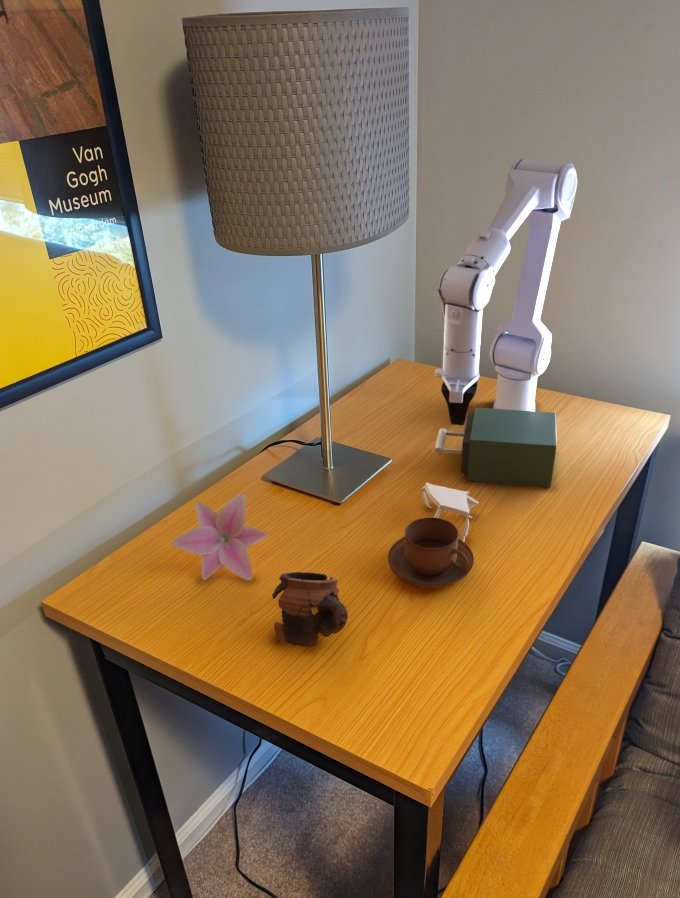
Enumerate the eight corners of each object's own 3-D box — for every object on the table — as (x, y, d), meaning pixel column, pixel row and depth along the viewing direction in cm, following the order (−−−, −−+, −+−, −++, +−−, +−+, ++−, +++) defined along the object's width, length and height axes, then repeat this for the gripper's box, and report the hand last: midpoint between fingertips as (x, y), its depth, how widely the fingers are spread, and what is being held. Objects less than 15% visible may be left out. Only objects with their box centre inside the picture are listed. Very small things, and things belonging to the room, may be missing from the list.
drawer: (432, 471, 125) (433, 440, 121) (439, 441, 133) (440, 411, 129) (536, 479, 122) (541, 447, 118) (537, 448, 130) (541, 418, 126)
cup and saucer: (482, 552, 108) (485, 517, 104) (459, 604, 99) (461, 567, 95) (404, 535, 111) (405, 501, 108) (375, 583, 102) (374, 548, 99)
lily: (169, 571, 107) (160, 544, 99) (209, 506, 112) (204, 475, 104) (243, 606, 106) (240, 581, 98) (280, 539, 111) (281, 510, 103)
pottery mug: (254, 636, 95) (258, 572, 94) (306, 627, 102) (311, 568, 102) (321, 658, 88) (326, 589, 87) (373, 646, 95) (378, 583, 94)
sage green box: (467, 480, 124) (469, 439, 119) (472, 446, 133) (475, 407, 128) (550, 487, 121) (556, 445, 117) (550, 452, 131) (555, 412, 126)
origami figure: (494, 522, 114) (496, 495, 111) (462, 547, 109) (464, 520, 106) (431, 495, 120) (432, 469, 117) (399, 518, 115) (399, 491, 112)
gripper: (441, 327, 123) (438, 402, 131) (430, 362, 111) (428, 442, 119) (484, 329, 121) (479, 404, 129) (478, 365, 110) (472, 445, 118)
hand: (457, 423), depth 124 cm, fingers closed
